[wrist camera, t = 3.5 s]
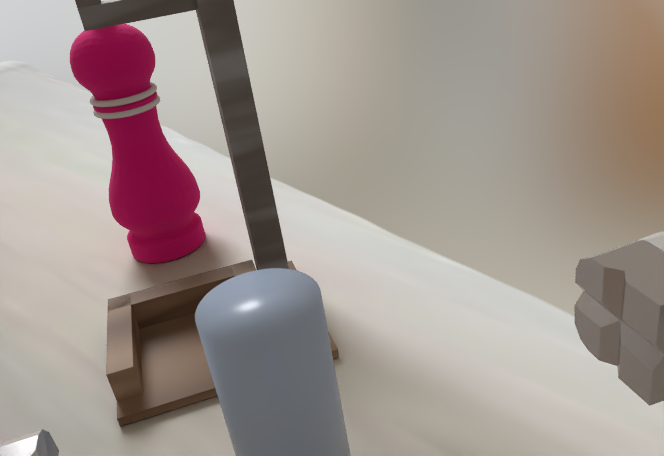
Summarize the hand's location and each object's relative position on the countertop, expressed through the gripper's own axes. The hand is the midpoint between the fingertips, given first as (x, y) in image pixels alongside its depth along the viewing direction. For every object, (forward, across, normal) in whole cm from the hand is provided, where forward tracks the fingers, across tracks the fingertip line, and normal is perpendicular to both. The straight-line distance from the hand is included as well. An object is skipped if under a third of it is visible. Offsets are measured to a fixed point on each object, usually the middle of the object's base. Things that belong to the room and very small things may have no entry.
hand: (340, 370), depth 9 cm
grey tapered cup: (+12, 0, +18) cm, 22 cm away
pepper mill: (+43, +4, +18) cm, 47 cm away
